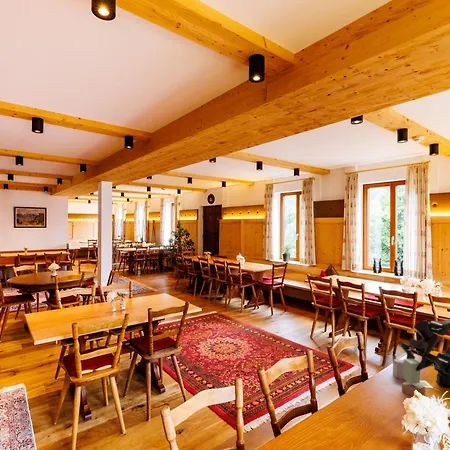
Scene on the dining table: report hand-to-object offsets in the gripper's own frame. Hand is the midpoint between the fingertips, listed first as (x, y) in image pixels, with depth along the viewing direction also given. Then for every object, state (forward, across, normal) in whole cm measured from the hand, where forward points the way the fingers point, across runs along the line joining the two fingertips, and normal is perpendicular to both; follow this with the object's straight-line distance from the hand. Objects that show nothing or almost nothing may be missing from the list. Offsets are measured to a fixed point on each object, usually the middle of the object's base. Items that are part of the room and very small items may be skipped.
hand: (411, 368), depth 154 cm
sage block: (+4, 0, +5) cm, 7 cm away
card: (0, -4, +18) cm, 19 cm away
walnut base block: (+8, 0, +10) cm, 13 cm away
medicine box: (+2, -14, +16) cm, 21 cm away
